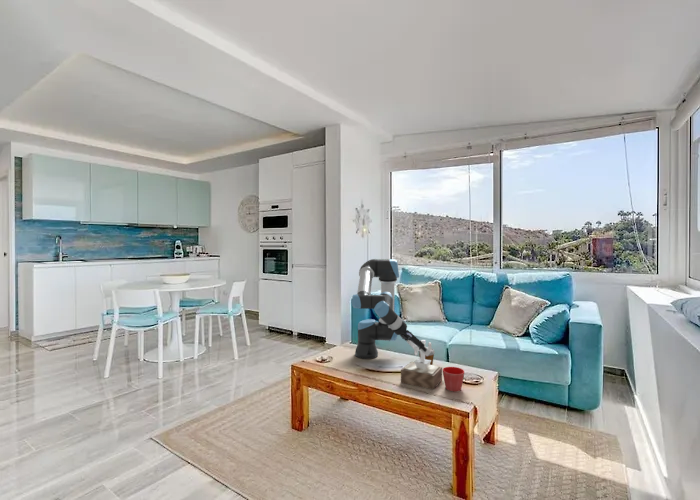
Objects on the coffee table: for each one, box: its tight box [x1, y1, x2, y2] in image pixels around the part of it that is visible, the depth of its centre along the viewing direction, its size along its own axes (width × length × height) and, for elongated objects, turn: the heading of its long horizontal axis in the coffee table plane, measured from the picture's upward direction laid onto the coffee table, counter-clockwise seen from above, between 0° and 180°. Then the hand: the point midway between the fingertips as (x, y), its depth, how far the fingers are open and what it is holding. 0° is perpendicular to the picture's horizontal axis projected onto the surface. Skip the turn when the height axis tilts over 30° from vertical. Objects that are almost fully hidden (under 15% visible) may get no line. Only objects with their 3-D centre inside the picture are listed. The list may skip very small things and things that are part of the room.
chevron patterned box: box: [400, 361, 443, 390], centre depth 201 cm, size 18×15×8 cm
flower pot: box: [442, 366, 465, 393], centre depth 191 cm, size 11×11×10 cm
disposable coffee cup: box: [418, 347, 436, 365], centre depth 219 cm, size 10×10×12 cm
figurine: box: [413, 339, 432, 370], centre depth 200 cm, size 7×9×15 cm
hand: (421, 350), depth 200 cm, fingers open, 13 cm apart
